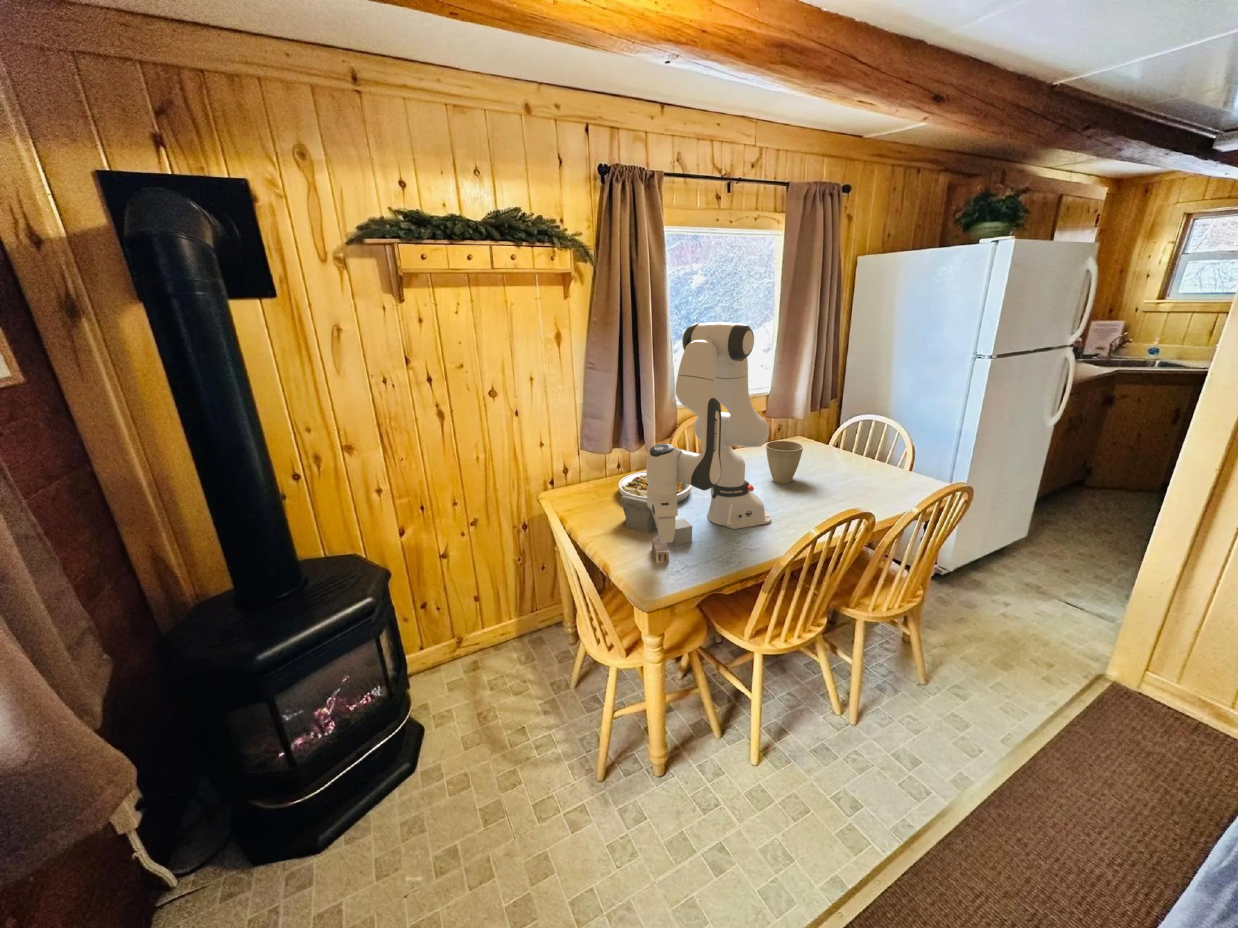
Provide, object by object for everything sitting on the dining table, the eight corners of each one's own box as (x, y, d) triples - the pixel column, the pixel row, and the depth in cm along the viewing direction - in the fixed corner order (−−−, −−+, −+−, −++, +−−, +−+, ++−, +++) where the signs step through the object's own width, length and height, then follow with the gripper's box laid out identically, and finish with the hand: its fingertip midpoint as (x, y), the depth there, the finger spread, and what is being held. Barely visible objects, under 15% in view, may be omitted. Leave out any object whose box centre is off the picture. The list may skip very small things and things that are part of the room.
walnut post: (668, 562, 147) (664, 548, 155) (669, 551, 145) (664, 537, 154) (656, 563, 147) (652, 548, 155) (656, 552, 145) (652, 538, 154)
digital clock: (667, 528, 168) (667, 500, 165) (650, 537, 162) (649, 509, 159) (633, 515, 179) (633, 489, 176) (616, 523, 173) (615, 496, 170)
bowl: (689, 511, 181) (689, 492, 178) (612, 507, 187) (611, 489, 184) (693, 482, 209) (693, 465, 206) (626, 479, 215) (625, 463, 212)
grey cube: (683, 534, 164) (684, 518, 162) (691, 542, 158) (692, 525, 156) (668, 537, 162) (667, 521, 160) (675, 545, 157) (675, 529, 155)
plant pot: (795, 474, 212) (798, 440, 207) (803, 487, 198) (807, 450, 193) (760, 474, 214) (763, 440, 208) (767, 487, 200) (769, 451, 195)
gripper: (647, 486, 149) (647, 526, 154) (656, 514, 130) (656, 559, 134) (667, 485, 149) (667, 524, 154) (678, 513, 130) (678, 557, 135)
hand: (662, 541), depth 144 cm, fingers closed
